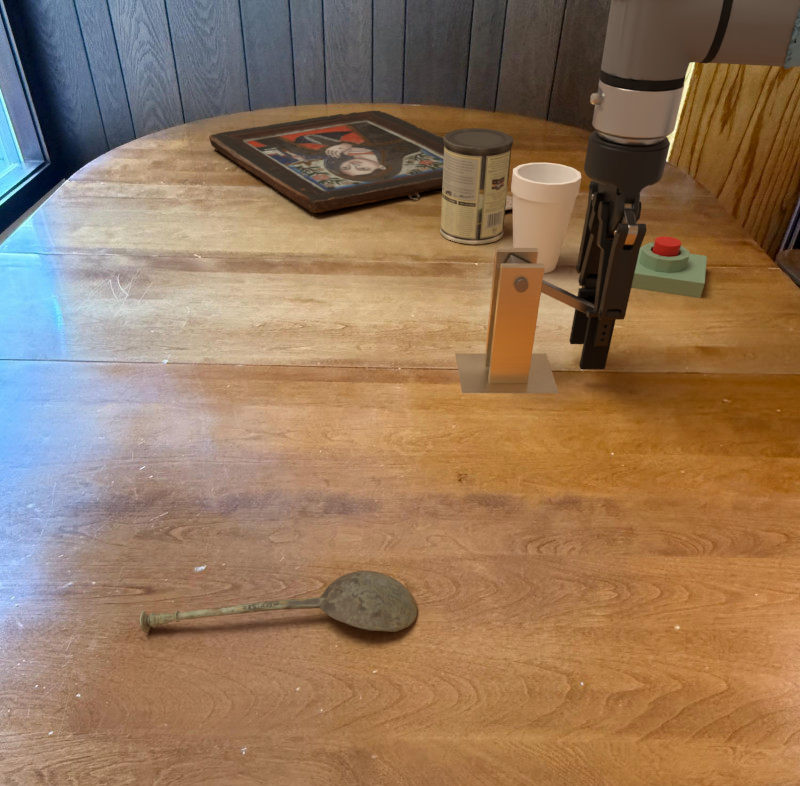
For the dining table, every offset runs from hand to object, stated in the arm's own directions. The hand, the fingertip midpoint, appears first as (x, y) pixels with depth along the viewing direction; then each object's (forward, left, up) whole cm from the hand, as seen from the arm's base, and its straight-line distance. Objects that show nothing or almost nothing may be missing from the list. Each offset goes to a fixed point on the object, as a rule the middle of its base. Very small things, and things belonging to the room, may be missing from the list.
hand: (586, 354), depth 88 cm
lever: (+5, +2, +6) cm, 8 cm away
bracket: (+9, +3, -4) cm, 10 cm away
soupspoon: (+18, +45, -4) cm, 49 cm away
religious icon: (+54, -65, -4) cm, 84 cm away
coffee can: (+24, -40, -4) cm, 46 cm away
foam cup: (+12, -31, -4) cm, 33 cm away
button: (-7, -33, 0) cm, 34 cm away
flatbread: (+23, -53, -4) cm, 58 cm away
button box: (-6, -33, -4) cm, 34 cm away
